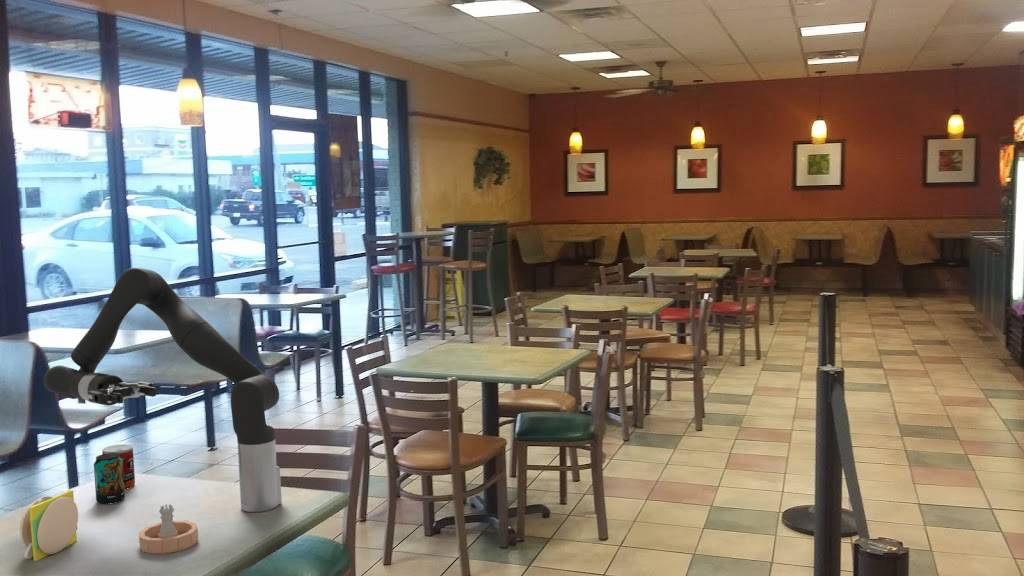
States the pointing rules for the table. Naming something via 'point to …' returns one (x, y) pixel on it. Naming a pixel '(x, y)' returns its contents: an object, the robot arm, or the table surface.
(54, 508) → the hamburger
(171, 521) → the rook chess piece
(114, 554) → the table surface
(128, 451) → the canned food
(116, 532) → the table surface
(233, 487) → the table surface
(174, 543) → the dish
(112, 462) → the beverage can
